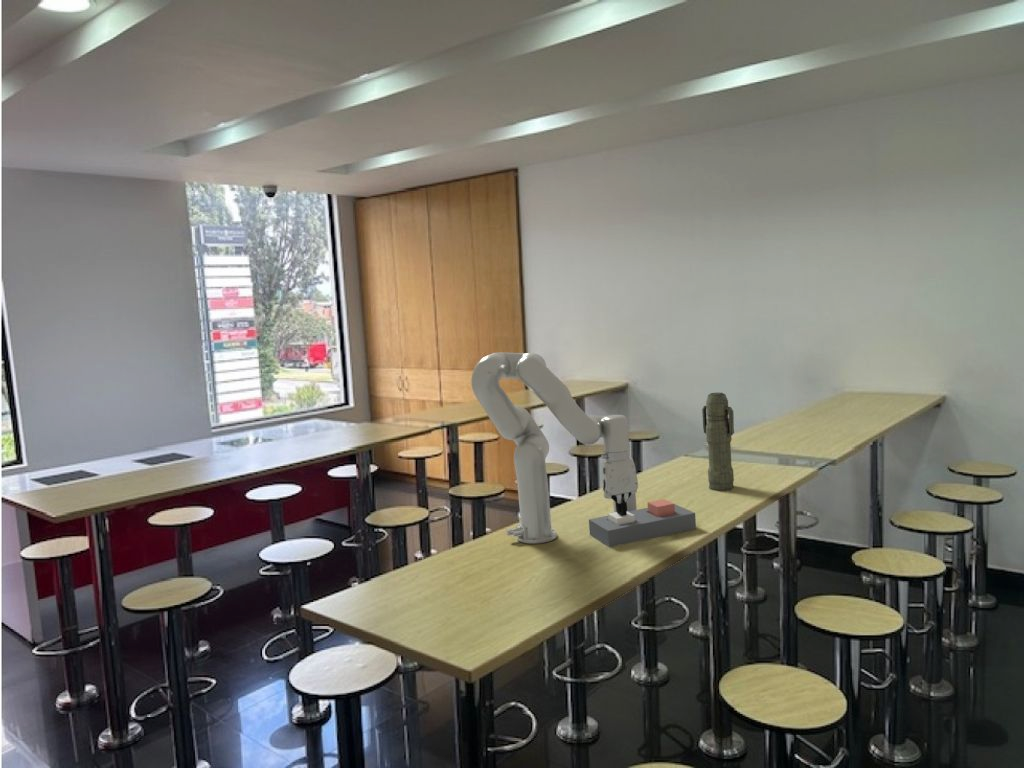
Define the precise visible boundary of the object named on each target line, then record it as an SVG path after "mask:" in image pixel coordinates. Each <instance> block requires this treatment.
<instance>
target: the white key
mask: <svg viewBox="0 0 1024 768" xmlns="http://www.w3.org/2000/svg"><path fill="white" fill-rule="evenodd" d="M607 516H608V521H610V522H612V523H614V524H615V525H621V524H626V523H631V522H635V515H633V514H631V513H629V512H627V515H623V516H621V515H619V514H618V513H617V512H614V511H613V512H610V513H607Z"/></svg>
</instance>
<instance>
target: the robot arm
mask: <svg viewBox="0 0 1024 768" xmlns="http://www.w3.org/2000/svg"><path fill="white" fill-rule="evenodd" d="M470 379H471V381H470V382H471V390H472V391H473V394H474V396H475V398H476V399H477V401H478V402H479V404H480V405H481V407H482V408H483V410H484V411H485V413H486V415H487V417H488V418H489V419H490V421H491V422H492V424H493V425H494V427H495V429H496V431H497V432H498V434H499V435H500V436H501V437H503V438H504V439H505V440H509V441H513V442H514V444H515V445H516V447H515V449H514V452H513V463H514V464H513V465H514V470H515V476H516V485H517V495H518V505H519V507H518V508H519V517H520V523H517V526H515V528H509V529H506V532H505V533H506V536H507V537H509V536H513V537H516V539H517V541H519V542H521V543H524V544H530V545H531V544H533V545H535V544H536V545H537V544H544V543H549V542H551V541H554V540H555V539H556V538H557V537H558V533H557V531H556V530H555V529H553V528H552V521H551V519H552V518H551V517H552V516H551V505H550V494H549V482H548V481H549V480H548V472H547V466H546V458H547V457H548V454H549V452H550V444H549V441H548V439H547V437H546V436H545V434H544V433H543V431H542V430H541V428H540V427H539V424H537V422H536V421H535V419H534V418H533V416H532V415H531V413H530V412H529V411H528V410H527V409H526V408H524V407H523V406H520V405H515V404H514V403H513V401H511V399H510V397H509V396H508V394H507V393H506V391H505V390H504V389H503V388H502V387H501V384H500V380H502V379H503V380H504V379H505V380H506V379H507V380H508V379H509V380H519V381H521V382H522V383H523V385H525V386H526V387H527V389H529V390H530V392H532V393H533V394H534V395H535V396H536V397H537V398H538V399H540V401H541V402H542V403H544V405H545V406H546V407H547V409H549V411H550V412H551V413H552V414H553V416H554V417H555V418H556V420H557V421H558V422H559V423H560V424H561V426H562V427H563V428H565V429H566V431H567V432H569V433H570V435H572V436H573V438H574V439H576V440H577V441H578V442H579V443H581V444H583V445H587V446H591V445H594V444H596V443H597V442H598V441H599V440H600V439H601V438H603V446H604V447H603V448H604V451H603V454H601V455H600V457H601V459H602V460H604V461H603V464H602V472H601V473H602V474H601V475H602V477H601V479H602V491H603V498H604V499H609V500H610V499H611V500H612V501H613V500H614V501H615V502H616V512H617V513H618V514H619V515H621V516H623V515H627V502H628V499H629V497H630V496H631V495H632V494H634V493H637V492H638V489H639V482H638V481H639V480H638V475H637V469H636V465H635V461H634V459H633V458H632V457H631V452H630V451H631V450H630V438H629V426H628V424H629V422H628V418H627V416H625V415H624V414H609V415H597V414H587V413H586V412H585V411H583V409H582V408H581V407H580V406H579V405H578V404H577V402H576V401H575V399H574V398H573V396H572V394H571V391H570V389H569V387H568V386H567V385H566V384H565V383H564V382H563V381H562V380H560V378H559V377H558V376H557V375H555V374H554V373H553V372H552V371H551V370H550V368H548V367H547V363H546V361H545V359H544V358H543V356H541V355H540V354H537V353H534V352H533V353H531V352H530V353H529V352H528V353H527V352H525V353H524V352H504V351H503V352H500V351H499V352H492V353H491V354H488V355H486V356H483V357H482V358H481V359H480V360H479V361H478V362H477V363H476V364H475V367H474V369H473V371H472V374H471V378H470ZM620 494H621V497H620Z"/></svg>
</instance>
